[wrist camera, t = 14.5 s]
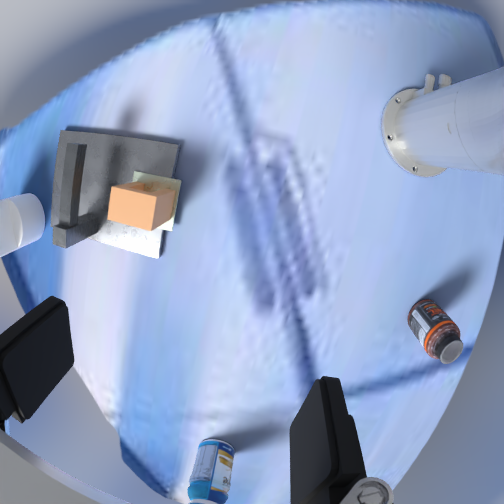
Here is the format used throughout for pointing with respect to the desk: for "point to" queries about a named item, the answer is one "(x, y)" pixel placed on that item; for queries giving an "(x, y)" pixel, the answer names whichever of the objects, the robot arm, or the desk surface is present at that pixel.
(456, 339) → the supplement bottle
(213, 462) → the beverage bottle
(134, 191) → the orange staple
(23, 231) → the cylinder with rectangular tab
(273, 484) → the desk surface
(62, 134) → the stand
